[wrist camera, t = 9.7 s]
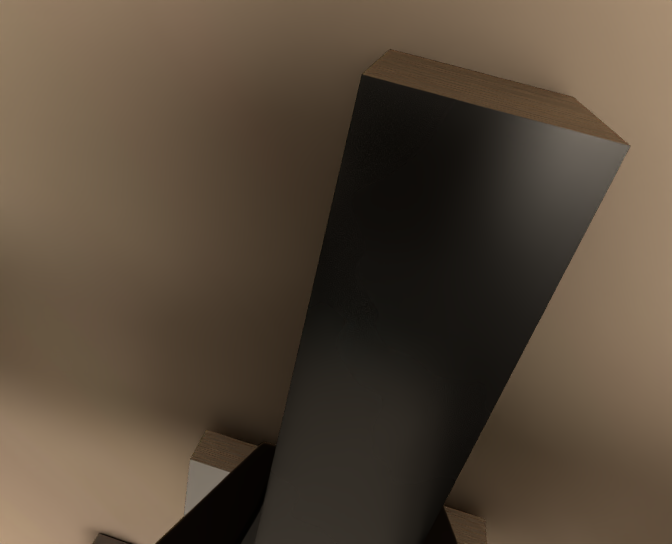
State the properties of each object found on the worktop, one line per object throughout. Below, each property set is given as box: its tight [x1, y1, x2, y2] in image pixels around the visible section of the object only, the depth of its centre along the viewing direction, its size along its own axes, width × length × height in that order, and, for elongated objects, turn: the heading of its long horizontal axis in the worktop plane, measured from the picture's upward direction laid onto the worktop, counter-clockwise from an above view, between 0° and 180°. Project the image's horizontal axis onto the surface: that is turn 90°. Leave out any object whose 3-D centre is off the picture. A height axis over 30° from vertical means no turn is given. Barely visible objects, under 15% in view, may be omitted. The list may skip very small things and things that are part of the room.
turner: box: [184, 49, 630, 544], centre depth 9 cm, size 13×6×2 cm, turn 167°
